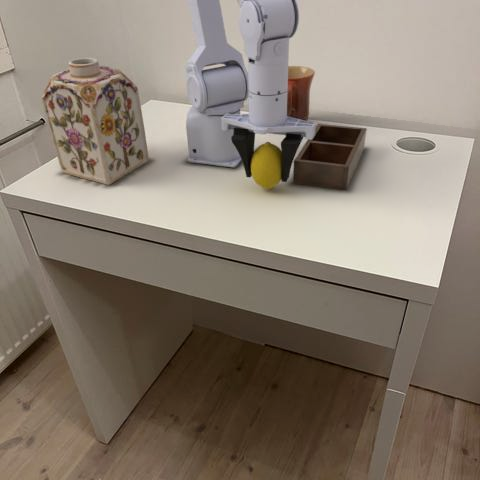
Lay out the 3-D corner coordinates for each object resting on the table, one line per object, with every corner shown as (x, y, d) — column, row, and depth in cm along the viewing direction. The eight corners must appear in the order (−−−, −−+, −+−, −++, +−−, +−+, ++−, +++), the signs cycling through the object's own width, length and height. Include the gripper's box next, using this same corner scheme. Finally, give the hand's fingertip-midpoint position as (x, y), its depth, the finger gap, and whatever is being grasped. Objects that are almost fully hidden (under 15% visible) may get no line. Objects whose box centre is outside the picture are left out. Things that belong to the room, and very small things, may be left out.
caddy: (292, 183, 85) (293, 160, 83) (316, 144, 97) (318, 123, 95) (346, 190, 83) (349, 167, 80) (363, 149, 95) (366, 128, 92)
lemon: (249, 183, 86) (248, 136, 80) (281, 180, 86) (282, 134, 81) (252, 198, 82) (252, 150, 76) (286, 195, 82) (288, 148, 77)
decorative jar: (60, 173, 91) (29, 65, 79) (103, 150, 98) (81, 48, 87) (110, 187, 86) (85, 74, 74) (151, 161, 94) (135, 55, 82)
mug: (273, 116, 110) (273, 65, 103) (313, 117, 108) (316, 66, 101) (264, 137, 101) (264, 83, 94) (307, 139, 99) (311, 84, 93)
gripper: (211, 94, 73) (217, 181, 82) (309, 102, 69) (304, 193, 78) (229, 80, 78) (232, 164, 86) (321, 86, 74) (315, 174, 82)
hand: (267, 176), depth 82 cm, fingers closed on lemon, 5 cm apart
